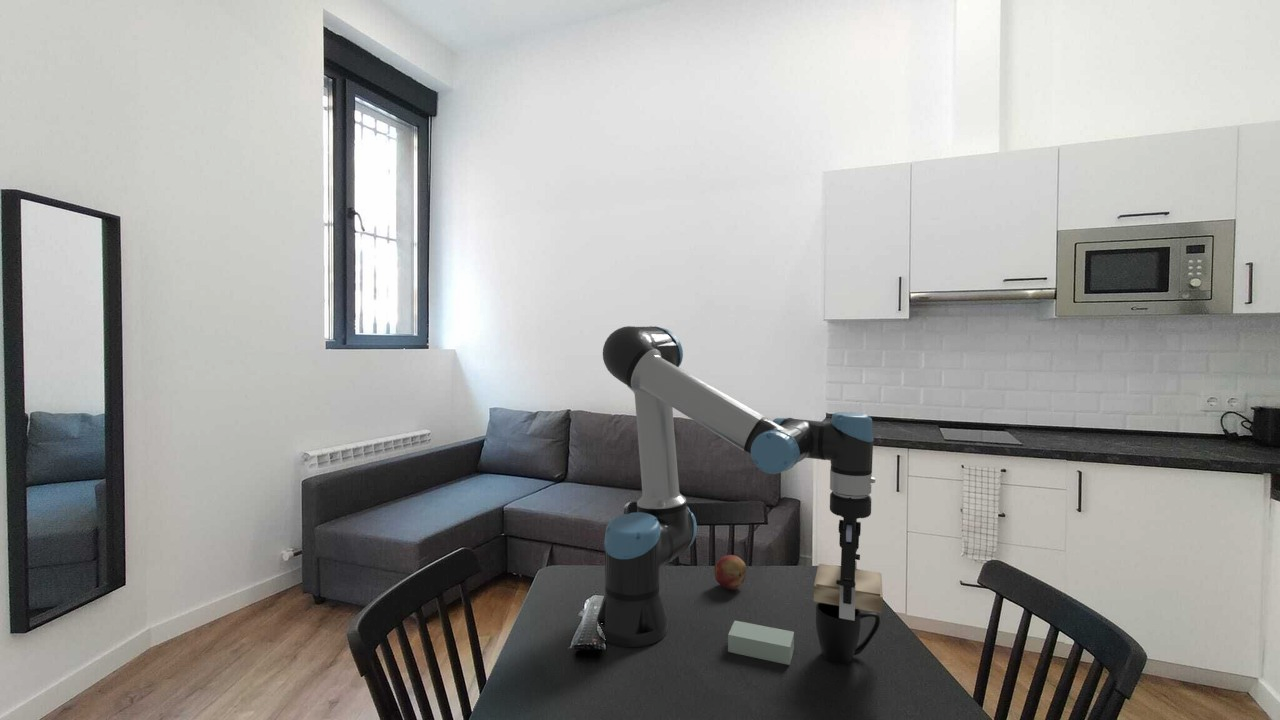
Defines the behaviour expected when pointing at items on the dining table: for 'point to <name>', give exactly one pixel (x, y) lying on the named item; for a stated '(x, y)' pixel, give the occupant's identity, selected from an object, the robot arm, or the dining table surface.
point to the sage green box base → (761, 642)
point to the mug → (841, 633)
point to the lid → (865, 589)
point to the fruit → (730, 571)
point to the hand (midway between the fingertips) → (847, 604)
